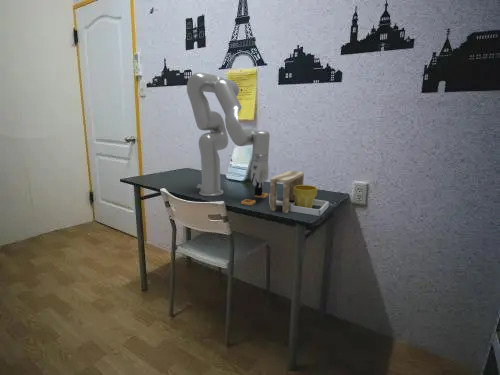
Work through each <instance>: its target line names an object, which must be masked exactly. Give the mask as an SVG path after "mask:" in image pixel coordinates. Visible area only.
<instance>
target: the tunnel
mask: <svg viewBox="0 0 500 375" xmlns="http://www.w3.org/2000/svg"><path fill="white" fill-rule="evenodd" d="M304 176H305V172H303V171H295V170H294V171H293V170H286V171H284V172H282V173H280V174H278V175H275V176H273V177H270V179H269V180H270V181H269V182H270V183H269V184H270V185H269V186H270V187H269V189H270V190H269V194H270V204H269V211H271V212H272V211H274V212H275V211H276V210H277V205H276V192H277V185H278V184H277V183H282V184H283V185H282V187H283V188H282V201H283V206H282V213H284V214H287V213H289V212H290V211H289V202H290V201H293V202H295V201H296V200H295V195H294V194H293V187H294V186H296V185H304V179H305V178H304Z"/></svg>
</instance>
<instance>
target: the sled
mask: <svg viewBox="0 0 500 375" xmlns="http://www.w3.org/2000/svg"><path fill="white" fill-rule="evenodd" d="M268 198H269V199H268V205H270V193H268ZM276 206H282V207H283V200H278V191H276ZM313 206H318V207H320V208H319V209H318V208H313V207H312V208H306V207H299V206H296V201H293V202H291V201H289V212H292V213H293V212H294V213H297V214H306V215H311V216H318V217H321V216H322V215H323V213H324V212H325V211H326V210H327V209H328V208H329V206H330V201H327V200H321V199H314V202H313Z"/></svg>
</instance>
